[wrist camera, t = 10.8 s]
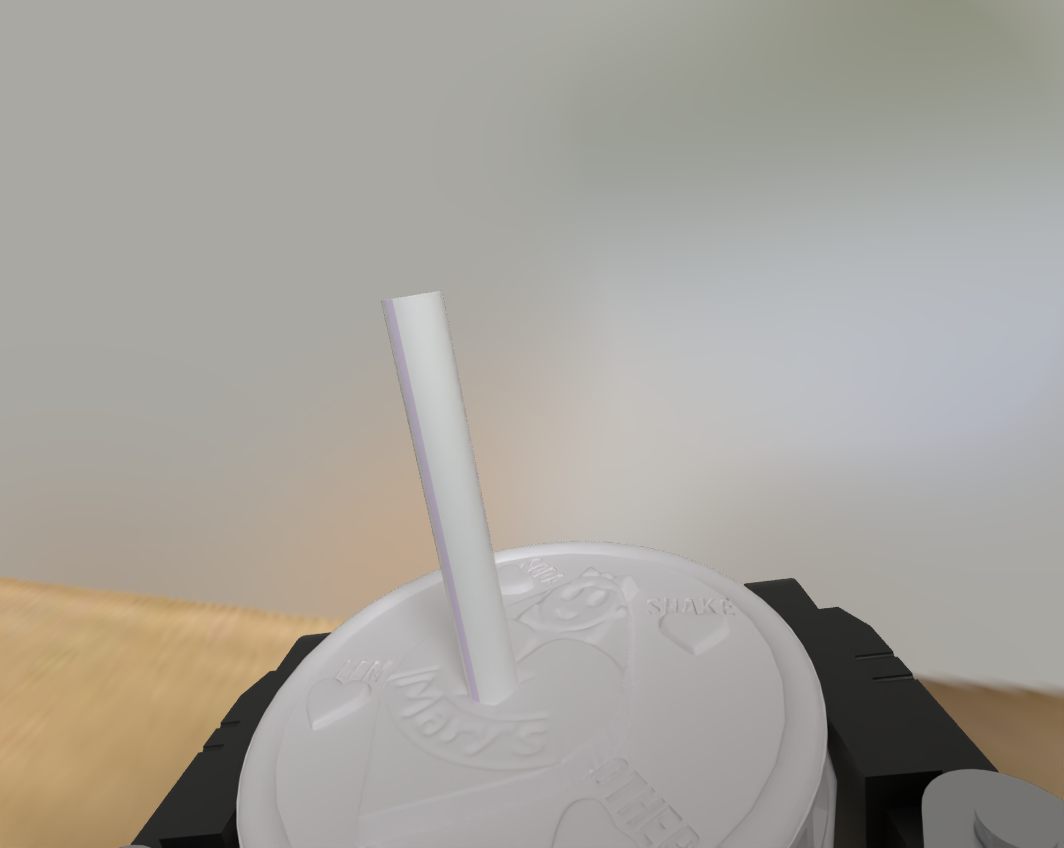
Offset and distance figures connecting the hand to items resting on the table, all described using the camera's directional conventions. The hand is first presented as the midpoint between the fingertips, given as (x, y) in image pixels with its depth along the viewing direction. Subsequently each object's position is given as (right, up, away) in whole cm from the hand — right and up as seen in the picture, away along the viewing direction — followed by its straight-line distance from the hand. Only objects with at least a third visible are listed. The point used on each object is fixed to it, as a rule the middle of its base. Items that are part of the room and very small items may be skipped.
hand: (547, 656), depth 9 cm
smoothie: (+1, -8, 0) cm, 9 cm away
